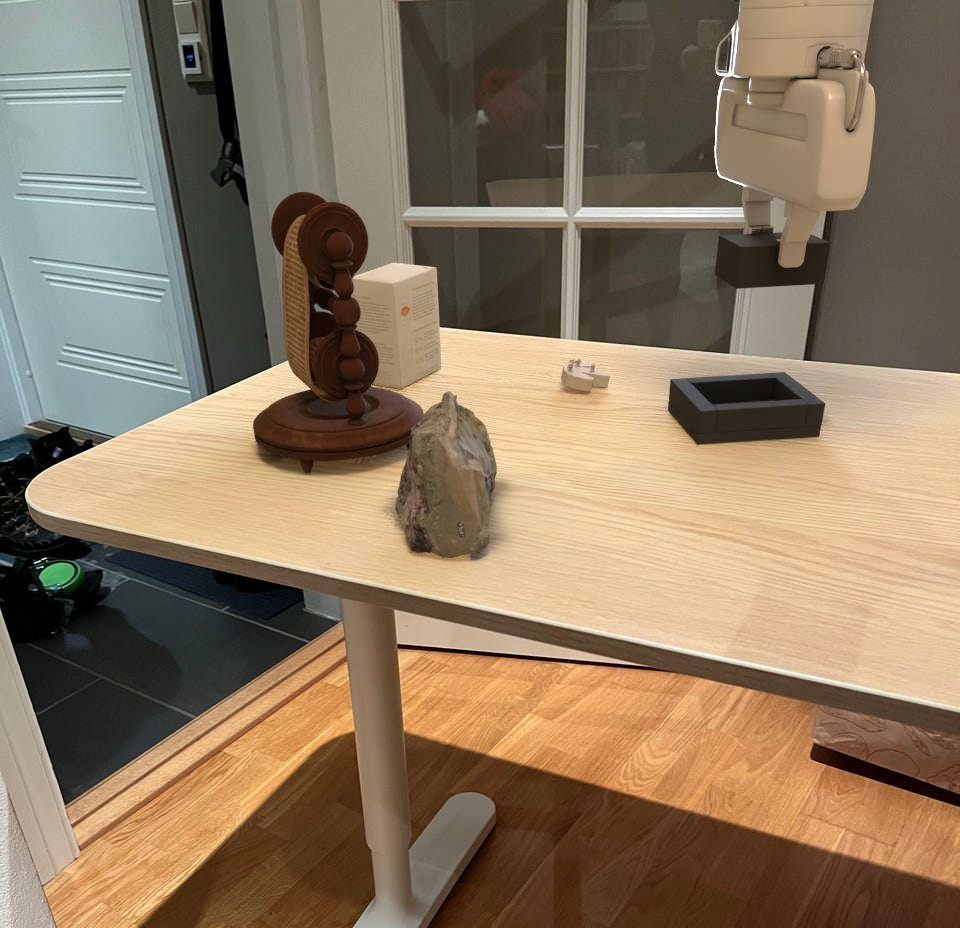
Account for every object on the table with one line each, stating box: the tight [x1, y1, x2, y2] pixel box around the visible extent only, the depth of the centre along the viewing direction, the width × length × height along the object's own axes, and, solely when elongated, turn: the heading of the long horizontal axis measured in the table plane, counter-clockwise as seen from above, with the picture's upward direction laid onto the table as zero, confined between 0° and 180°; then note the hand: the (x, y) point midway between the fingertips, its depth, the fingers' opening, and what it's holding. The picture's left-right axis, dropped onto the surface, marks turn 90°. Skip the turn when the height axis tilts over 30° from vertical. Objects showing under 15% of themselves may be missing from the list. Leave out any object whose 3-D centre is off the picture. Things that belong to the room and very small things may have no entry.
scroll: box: [252, 191, 425, 475], centre depth 77 cm, size 15×15×20 cm
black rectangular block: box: [714, 231, 831, 290], centre depth 73 cm, size 7×5×3 cm
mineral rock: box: [394, 390, 498, 559], centre depth 66 cm, size 13×11×10 cm
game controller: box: [490, 358, 611, 392], centre depth 93 cm, size 6×12×3 cm, turn 102°
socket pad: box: [667, 371, 826, 446], centre depth 84 cm, size 11×9×3 cm
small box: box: [351, 262, 442, 390], centre depth 96 cm, size 8×6×10 cm
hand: (771, 257), depth 73 cm, fingers closed on black rectangular block, 5 cm apart
